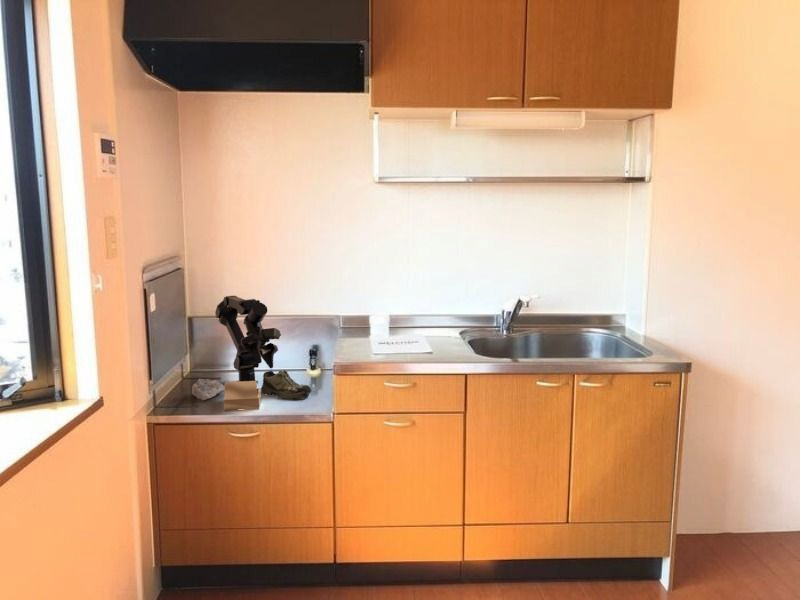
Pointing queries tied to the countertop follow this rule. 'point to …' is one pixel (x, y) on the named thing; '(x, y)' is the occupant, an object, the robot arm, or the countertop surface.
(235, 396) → the flap
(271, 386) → the hiking shoe
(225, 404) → the carton
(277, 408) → the countertop surface
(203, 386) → the rock
